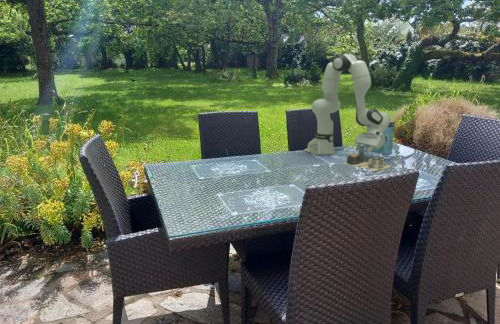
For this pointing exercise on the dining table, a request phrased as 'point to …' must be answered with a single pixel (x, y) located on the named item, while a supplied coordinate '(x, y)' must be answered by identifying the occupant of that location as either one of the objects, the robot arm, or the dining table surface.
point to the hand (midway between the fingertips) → (361, 151)
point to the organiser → (368, 163)
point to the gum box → (388, 143)
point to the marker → (361, 152)
